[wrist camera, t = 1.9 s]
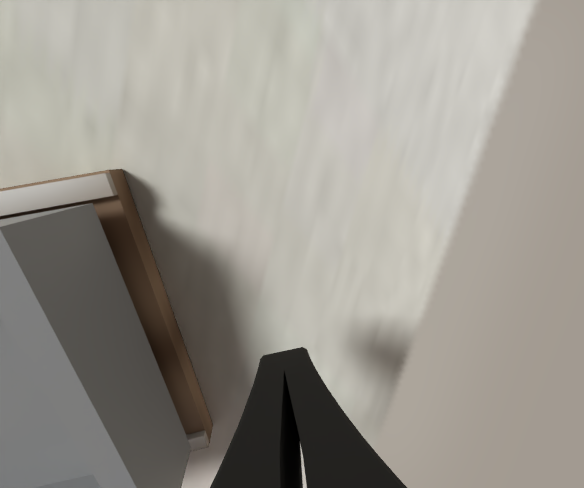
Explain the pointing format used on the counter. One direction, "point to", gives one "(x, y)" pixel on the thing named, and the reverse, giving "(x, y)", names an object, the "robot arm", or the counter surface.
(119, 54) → the counter surface
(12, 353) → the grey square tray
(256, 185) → the counter surface
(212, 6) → the counter surface
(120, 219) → the track
